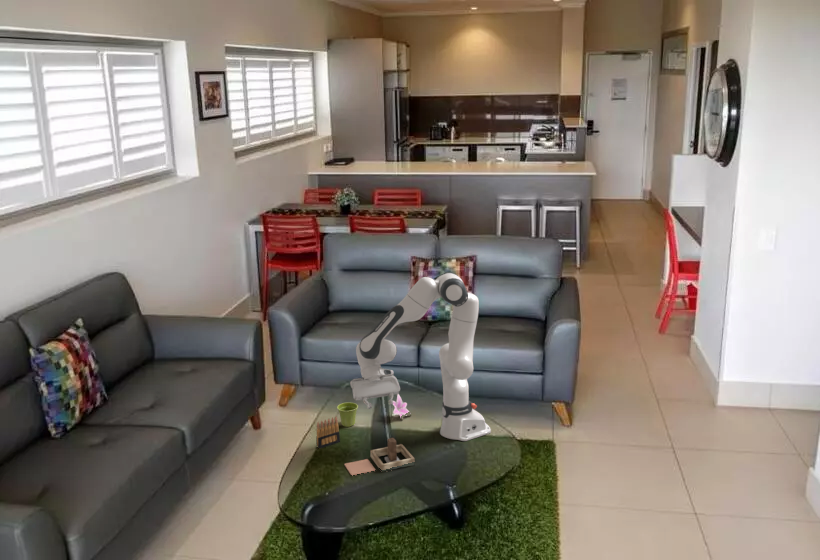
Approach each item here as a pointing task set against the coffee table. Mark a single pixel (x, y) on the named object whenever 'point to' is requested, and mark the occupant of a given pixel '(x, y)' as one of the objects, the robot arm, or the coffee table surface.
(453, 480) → the coffee table surface
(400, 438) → the coffee table surface
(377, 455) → the frame
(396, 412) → the lily
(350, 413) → the plant pot
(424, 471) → the coffee table surface
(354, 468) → the terracotta tile
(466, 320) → the robot arm
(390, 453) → the wooden post
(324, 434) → the ammunition clip
